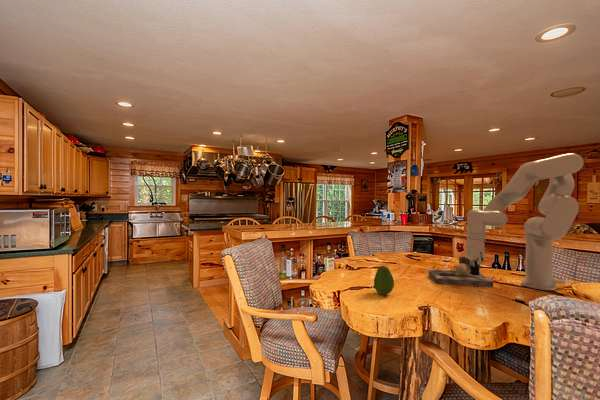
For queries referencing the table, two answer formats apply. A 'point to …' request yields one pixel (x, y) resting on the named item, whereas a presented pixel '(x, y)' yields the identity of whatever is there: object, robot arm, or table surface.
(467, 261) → the cup
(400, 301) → the table surface
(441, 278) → the track board
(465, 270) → the maple ball
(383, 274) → the avocado
